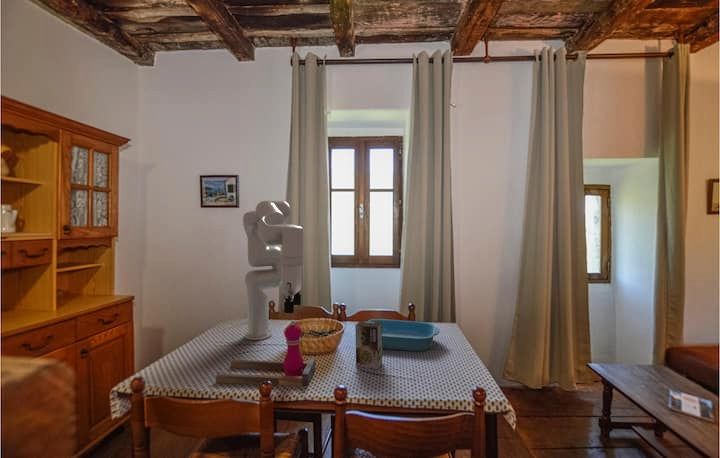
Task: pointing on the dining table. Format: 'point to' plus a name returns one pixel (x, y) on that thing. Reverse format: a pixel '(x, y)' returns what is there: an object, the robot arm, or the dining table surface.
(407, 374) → the dining table surface
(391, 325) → the casserole dish
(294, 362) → the pepper mill
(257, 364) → the guide channel
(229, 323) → the dining table surface
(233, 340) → the dining table surface
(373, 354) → the coffee box
